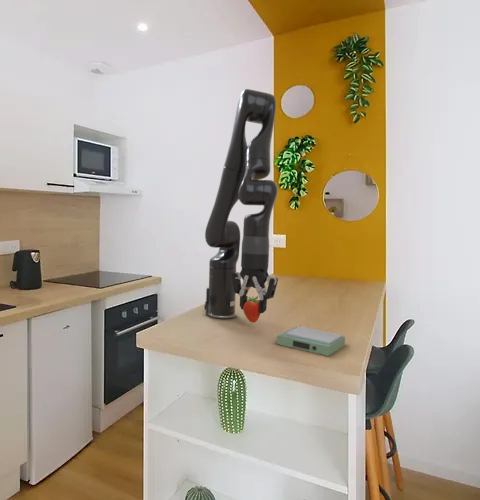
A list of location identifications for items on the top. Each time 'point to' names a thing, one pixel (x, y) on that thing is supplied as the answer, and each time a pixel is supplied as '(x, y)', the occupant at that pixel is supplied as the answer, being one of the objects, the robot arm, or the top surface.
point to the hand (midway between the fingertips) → (252, 310)
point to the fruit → (252, 309)
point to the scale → (311, 340)
